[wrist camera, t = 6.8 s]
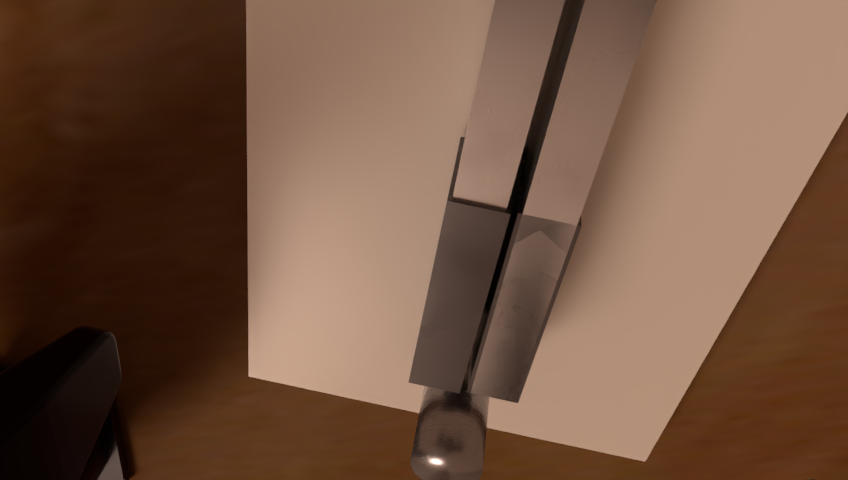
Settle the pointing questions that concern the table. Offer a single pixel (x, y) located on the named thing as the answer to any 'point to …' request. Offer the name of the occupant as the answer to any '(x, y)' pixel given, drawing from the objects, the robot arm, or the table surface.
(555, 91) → the tongs fixed arm
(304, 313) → the cutting board
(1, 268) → the table surface
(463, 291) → the tongs moving arm
